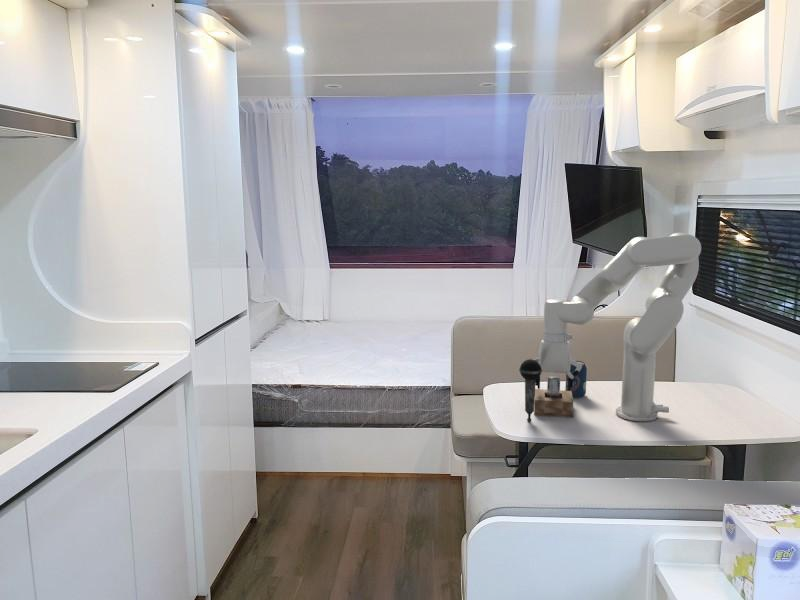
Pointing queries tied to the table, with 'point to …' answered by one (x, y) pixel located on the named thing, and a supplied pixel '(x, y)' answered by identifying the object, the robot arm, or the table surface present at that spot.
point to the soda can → (578, 381)
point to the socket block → (553, 404)
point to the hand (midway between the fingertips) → (553, 388)
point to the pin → (553, 387)
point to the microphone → (530, 383)
